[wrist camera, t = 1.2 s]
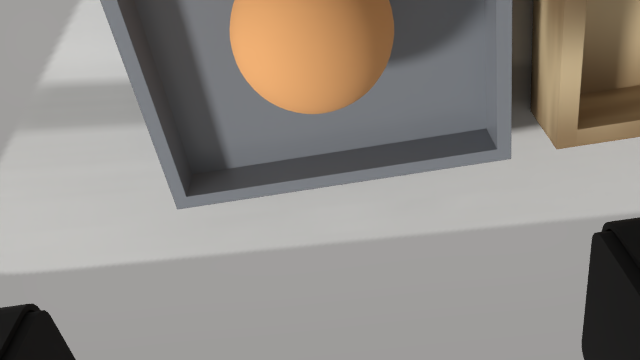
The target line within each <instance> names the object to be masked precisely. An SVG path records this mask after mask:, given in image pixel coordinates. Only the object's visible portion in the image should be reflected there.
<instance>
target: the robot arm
mask: <svg viewBox="0 0 640 360" xmlns="http://www.w3.org/2000/svg"><path fill="white" fill-rule="evenodd" d="M582 352H583V357H584V360H640V218H633V219H626V220H619V221H612V222H607V223H605V224H604V226H603V229H602V232H598V233H594V235H593V237H592V244H591V254H590V264H589V275H588V285H587V295H586V305H585V315H584V325H583V335H582ZM0 360H75V358H74V356H73V354H72V353H71V351H70V349H69V347H68V346H67V344H66V342H65V340H64V339H63V337H62V335H61V333H60V332H59V330H58V328H57V326H56V325H55V323H54V321H53V319H52V318H51V316H50V315H49V313H48V312H46V311H45V310H43V311H41V310H40V309H39V308H38V306H36V305H34V304H25V305H18V306H11V307H3V308H0Z"/></svg>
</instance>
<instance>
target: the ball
mask: <svg viewBox="0 0 640 360" xmlns="http://www.w3.org/2000/svg"><path fill="white" fill-rule="evenodd" d="M229 30H230V42H231V47H232V51H233V55H234V58H235V61H236V63H237V65H238V68H239V70H240V72H241V73H242V75H243V76H244V78H245V79H246V81H247V82H248V83H249V84H250V85H251V87H252V88H253V89H254V90H255V91H256V92H257V93H258V94H259V95H260V96H262V97H263V98H264V99H266V100H267V101H269V102H270V103H272V104H274V105H276V106H278V107H280V108H283V109H285V110H288V111H292V112H296V113H303V114H322V113H328V112H332V111H336V110H338V109H341V108H344V107H346V106H348V105H350V104H352V103H354V102H355V101H357V100H358V99H360V98H361V97H362V96H364V95H365V94H366V93H367V92H368V91H369V90H370V89H371V88H372V87H373V86H374V85H375V83H376V82H377V80H378V79H379V78H380V76H381V75H382V73H383V71H384V69H385V68H386V66H387V63H388V60H389V58H390V55H391V50H392V46H393V40H394V20H393V14H392V8H391V5H390V2H389V0H234V3H233V7H232V11H231V17H230V28H229Z"/></svg>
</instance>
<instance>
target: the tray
mask: <svg viewBox="0 0 640 360" xmlns="http://www.w3.org/2000/svg"><path fill="white" fill-rule="evenodd" d="M531 112H532V114H533V115H534V117H535V118H536V120H537V121H538V123H539V124H540V126H541V127H542V129H543V130H544V132H545V133H546V134H547V136H548V137H549V139H550V140H551V142H552V143H553V145H554V146H555V148H556V149H562V148H569V147H575V146H582V145H588V144H595V143H601V142H608V141H615V140H621V139H628V138H634V137H640V0H533V39H532V77H531Z"/></svg>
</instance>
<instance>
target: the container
mask: <svg viewBox="0 0 640 360" xmlns="http://www.w3.org/2000/svg"><path fill="white" fill-rule="evenodd" d="M100 1H101V4H102V6H103V9H104V12H105V15H106V17H107V20H108V23H109V25H110V28H111V31H112V34H113V36H114V39H115V42H116V44H117V47H118V50H119V53H120V55H121V58H122V61H123V63H124V66H125V69H126V71H127V74H128V77H129V80H130V82H131V85H132V88H133V90H134V93H135V96H136V99H137V101H138V104H139V107H140V109H141V112H142V115H143V118H144V120H145V123H146V126H147V128H148V131H149V134H150V136H151V139H152V142H153V145H154V147H155V150H156V153H157V155H158V158H159V161H160V164H161V166H162V169H163V172H164V174H165V177H166V180H167V183H168V185H169V188H170V191H171V193H172V196H173V199H174V202H175V204H176V207H177V209H184V208H190V207H197V206H203V205H210V204H217V203H223V202H230V201H236V200H243V199H249V198H256V197H263V196H269V195H276V194H282V193H289V192H296V191H302V190H309V189H315V188H322V187H329V186H335V185H342V184H348V183H355V182H362V181H368V180H375V179H381V178H388V177H394V176H401V175H408V174H414V173H421V172H427V171H434V170H441V169H447V168H454V167H460V166H467V165H474V164H480V163H487V162H493V161H500V160H506V159H511V106H512V0H389V2H390V5H391V8H392V14H393V20H394V40H393V46H392V50H391V55H390V58H389V60H388V63H387V66H386V68H385V69H384V71H383V73H382V75H381V76H380V78H379V79H378V80H377V82H376V83H375V85H374V86H373V87H372V88H371V89H370V90H369V91H368V92H367V93H366V94H365V95H364V96H362V97H361V98H360V99H358V100H357V101H355V102H354V103H352V104H350V105H348V106H346V107H344V108H341V109H338V110H336V111H332V112H328V113H322V114H303V113H296V112H292V111H288V110H285V109H283V108H280V107H278V106H276V105H274V104H272V103H270V102H269V101H267V100H266V99H264V98H263V97H262V96H260V95H259V94H258V93H257V92H256V91H255V90H254V89H253V88H252V87H251V85H250V84H249V83H248V82H247V81H246V79H245V78H244V76H243V75H242V73H241V72H240V70H239V68H238V65H237V63H236V61H235V58H234V55H233V51H232V47H231V42H230V30H229V28H230V17H231V11H232V7H233V3H234V0H100Z"/></svg>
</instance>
